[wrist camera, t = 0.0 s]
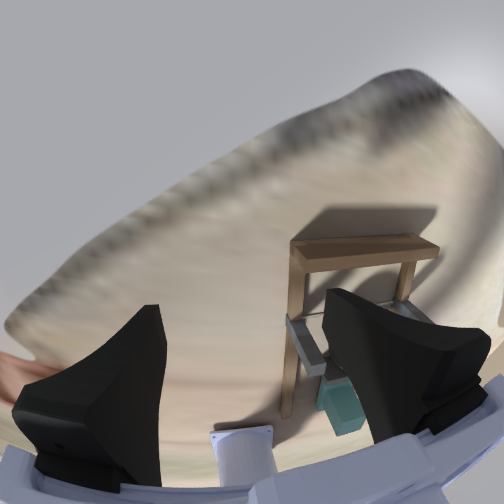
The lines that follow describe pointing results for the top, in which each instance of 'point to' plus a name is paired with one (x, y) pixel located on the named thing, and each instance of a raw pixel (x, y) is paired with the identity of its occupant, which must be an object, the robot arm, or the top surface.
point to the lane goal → (338, 258)
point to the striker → (339, 400)
